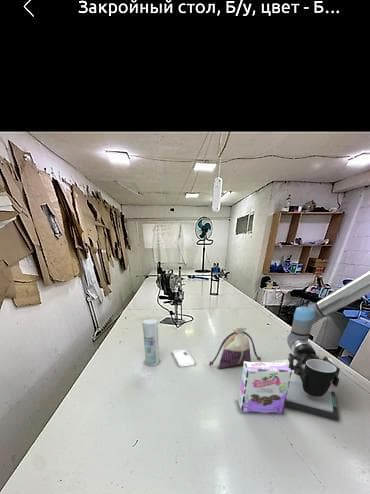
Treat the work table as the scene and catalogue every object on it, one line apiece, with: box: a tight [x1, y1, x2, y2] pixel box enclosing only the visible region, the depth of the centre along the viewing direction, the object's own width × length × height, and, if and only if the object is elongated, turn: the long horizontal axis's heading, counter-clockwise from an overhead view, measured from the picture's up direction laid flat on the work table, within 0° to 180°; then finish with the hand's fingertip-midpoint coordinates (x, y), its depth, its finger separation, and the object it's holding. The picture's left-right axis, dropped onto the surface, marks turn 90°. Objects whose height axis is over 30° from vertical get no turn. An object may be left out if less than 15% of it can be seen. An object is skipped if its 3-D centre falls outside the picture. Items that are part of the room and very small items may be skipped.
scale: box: [284, 380, 339, 422], centre depth 83 cm, size 16×15×3 cm
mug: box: [301, 359, 337, 397], centre depth 80 cm, size 12×9×10 cm
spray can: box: [142, 318, 160, 366], centre depth 106 cm, size 6×6×20 cm
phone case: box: [172, 349, 196, 368], centre depth 113 cm, size 7×1×15 cm
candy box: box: [237, 361, 293, 414], centre depth 77 cm, size 14×6×16 cm, turn 88°
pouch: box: [208, 327, 262, 369], centre depth 104 cm, size 25×8×19 cm, turn 110°
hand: (320, 381), depth 75 cm, fingers closed on mug, 9 cm apart
